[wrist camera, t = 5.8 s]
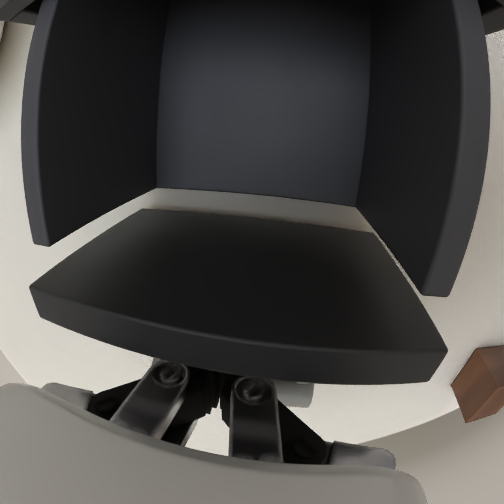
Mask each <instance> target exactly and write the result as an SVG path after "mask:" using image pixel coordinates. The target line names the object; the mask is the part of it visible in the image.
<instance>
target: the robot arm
mask: <svg viewBox="0 0 504 504" xmlns="http://www.w3.org/2000/svg"><path fill="white" fill-rule="evenodd" d="M219 398H220V409H222V420H223V421H224V422H225V423H226V425H227V426H228V427H229V428H230V429H229V456H223V455H218V454H213V453H208V452H204V451H199V450H195V449H191V448H187V447H185V445H186V443H187V441H188V439H189V437H190V436H191V434H192V432H193V430H194V428H195V426H196V424H197V421H198V419H199V418H201V417H203V416H205V415H206V413H207V414H210V412H211V409H212V407H213V408H217V405H218V402H219ZM395 467H396V462H395V457H394V455H393V454H392V453H391V452H390V451H389V450H386V449H383V448H376V447H368V446H361V445H355V444H349V443H343V442H338V441H334V442H333V443H331V442H326V441H323V439H322V438H321V437H320V436H319V435H317V434H316V433H315V432H314V431H313V430H312V429H310V428H309V427H308V426H307V425H306V424H305V423H304V422H302V421H301V420H300V419H299V418H298V417H297V416H296V415H295V414H294V413H292V412H291V411H290V410H289V409H288V408H287V407H286V406H285V405H284V404H283V403H282V402H281V401H279V400H278V399H277V391H276V387H275V384H274V383H273V381H272V380H271V379H263V378H255V377H248V376H242V375H235V374H229V373H223V372H218V371H212V370H207V369H202V368H197V367H192V366H188V365H183V364H179V363H175V362H170V361H166V360H162V359H160V360H158V361H156V362H155V363H154V364H153V365H152V366H151V367H150V368H149V370H148V371H147V372H146V374H145V375H144V376H143V377H142V379H139V380H136V381H133V382H130V383H127V384H124V385H121V386H118V387H115V388H112V389H109V390H105V391H102V392H100V393H98V394H94V393H93V391H89V390H84V389H80V388H75V387H71V386H67V385H62V384H58V383H48V384H46V385H45V386H43V387H42V389H41V388H38V387H35V386H31V385H27V384H20V383H9V384H5V385H3V386H1V387H0V504H427V500H426V496H425V493H424V490H423V488H422V486H421V484H420V483H419V481H418V480H417V479H416V478H415V477H413V476H411V475H409V474H407V473H405V472H402V471H399V470H395Z"/></svg>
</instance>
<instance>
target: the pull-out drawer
mask: <svg viewBox="0 0 504 504" xmlns="http://www.w3.org/2000/svg"><path fill="white" fill-rule="evenodd" d="M489 130H490V73H489V61H488V52H487V44H486V38H485V32H484V26H483V21H482V17H481V12H480V8H479V4H478V0H43V1H42V4H41V7H40V10H39V14H38V17H37V21H36V24H35V28H34V32H33V36H32V40H31V45H30V49H29V55H28V60H27V66H26V73H25V80H24V89H23V100H22V117H21V153H22V170H23V182H24V191H25V199H26V206H27V212H28V218H29V224H30V229H31V234H32V239H33V242H34V244H37V245H42V246H47V247H50V246H51V245H53V244H55V243H56V242H58V241H59V240H61V239H63V238H64V237H66V236H67V235H69V234H71V233H72V232H74V231H76V230H78V229H79V228H81V227H83V226H84V225H86V224H88V223H90V222H91V221H93V220H95V219H97V218H98V217H100V216H102V215H104V214H106V213H108V212H109V211H111V210H113V209H115V208H117V207H119V206H121V205H123V204H125V203H127V202H129V201H131V200H133V199H135V198H137V197H139V196H141V195H143V194H145V193H147V192H149V191H151V190H153V189H155V188H170V189H189V190H205V191H220V192H232V193H244V194H255V195H265V196H274V197H284V198H292V199H301V200H309V201H316V202H324V203H331V204H338V205H345V206H351V207H356V208H357V209H358V210H359V212H360V213H361V214H362V215H363V216H364V218H365V219H366V220H367V221H368V223H369V224H370V225H371V226H372V228H373V229H374V230H375V231H376V233H377V234H378V235H379V236H380V238H381V239H382V240H383V242H384V243H385V244H386V246H387V247H388V248H389V250H390V251H391V252H392V254H393V255H394V256H395V258H396V259H397V260H398V262H399V263H400V265H401V266H402V267H403V269H404V270H405V272H406V273H407V275H408V276H409V277H410V279H411V280H412V282H413V283H414V285H415V286H416V288H417V289H418V291H419V292H420V294H422V295H424V296H437V297H448V296H449V294H450V292H451V290H452V287H453V285H454V282H455V280H456V277H457V274H458V272H459V269H460V266H461V263H462V261H463V258H464V255H465V252H466V249H467V246H468V242H469V239H470V236H471V232H472V229H473V225H474V221H475V217H476V213H477V209H478V205H479V200H480V196H481V191H482V186H483V180H484V174H485V168H486V161H487V152H488V143H489ZM29 289H30V292H31V294H32V297H33V300H34V303H35V305H36V308H37V310H38V313H39V315H40V317H41V318H43V319H45V320H48V321H50V322H52V323H55V324H57V325H59V326H62V327H64V328H67V329H69V330H72V331H74V332H77V333H80V334H82V335H85V336H88V337H90V338H93V339H96V340H99V341H102V342H105V343H108V344H111V345H114V346H117V347H120V348H123V349H127V350H130V351H133V352H137V353H140V354H144V355H147V356H151V357H154V358H153V361H152V365H153V364H154V363H155V362H156V361H158V360H160V359H162V360H166V361H170V362H175V363H179V364H183V365H188V366H192V367H197V368H202V369H207V370H212V371H218V372H223V373H229V374H235V375H242V376H248V377H255V378H263V379H271V380H272V381H273V383H274V384H275V387H276V391H277V399H278V400H279V401H281V402H282V403H283V404H284V405H285V406H291V407H305V408H307V407H309V405H310V403H311V401H312V396H313V390H314V383H318V384H341V385H383V384H406V383H420V382H427V381H429V380H430V379H431V377H432V376H433V374H434V373H435V371H436V370H437V368H438V367H439V365H440V364H441V362H442V361H443V359H444V357H445V356H446V354H447V352H448V348H447V347H446V345H445V343H444V341H443V339H442V337H441V335H440V334H439V332H438V330H437V328H436V326H435V325H434V323H433V321H432V320H431V318H430V316H429V314H428V313H427V311H426V309H425V308H424V306H423V304H422V303H421V301H420V300H419V298H418V296H417V295H416V293H415V292H414V290H413V289H412V287H411V285H410V284H409V282H408V281H407V279H406V278H405V276H404V275H403V273H402V272H401V270H400V269H399V268H398V266H397V265H396V263H395V262H394V260H393V259H392V257H391V256H390V255H389V253H388V252H387V250H386V249H385V248H384V246H383V245H382V244H381V242H380V241H379V240H378V238H377V237H376V236H375V234H374V233H369V232H362V231H355V230H348V229H341V228H333V227H326V226H318V225H310V224H302V223H294V222H285V221H276V220H267V219H258V218H249V217H239V216H229V215H218V214H207V213H195V212H183V211H171V210H157V209H141V210H139V211H137V212H135V213H134V214H132V215H130V216H129V217H127V218H126V219H124V220H122V221H121V222H119V223H117V224H116V225H114V226H113V227H111V228H110V229H108V230H106V231H105V232H103V233H102V234H100V235H99V236H97V237H96V238H94V239H93V240H91V241H90V242H88V243H87V244H85V245H84V246H82V247H81V248H79V249H78V250H77V251H75V252H74V253H72V254H71V255H70V256H68V257H67V258H65V259H64V260H63V261H61V262H60V263H58V264H57V265H56V266H54V267H53V268H52V269H50V270H49V271H48V272H46V273H45V274H44V275H42V276H41V277H40V278H39V279H37V280H36V281H35V282H34V283H32V284H31V285H30V286H29Z"/></svg>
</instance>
